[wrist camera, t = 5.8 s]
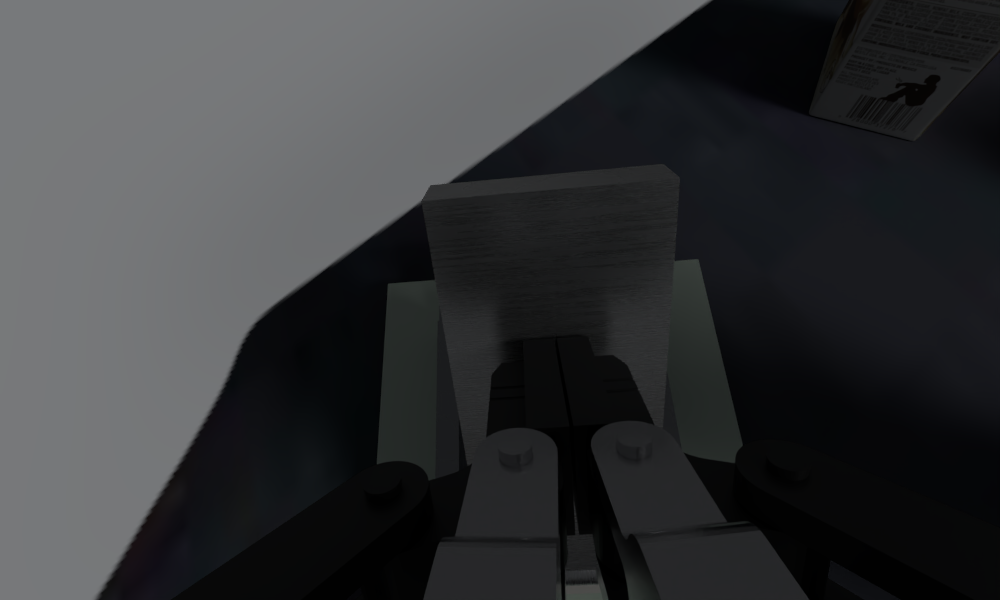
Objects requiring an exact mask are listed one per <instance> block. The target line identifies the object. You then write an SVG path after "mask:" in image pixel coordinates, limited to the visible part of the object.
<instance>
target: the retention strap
mask: <svg viewBox="0 0 1000 600" xmlns="http://www.w3.org/2000/svg"><path fill="white" fill-rule="evenodd" d="M679 184H680V178H679V177H678V176H677V175H676V174H674V173H673V172H672V171H671V170H670V169H668V168H667V167H666V166H665V165H664V164H659V165H648V166H637V167H626V168H615V169H604V170H594V171H583V172H572V173H561V174H550V175H539V176H528V177H517V178H506V179H495V180H484V181H473V182H463V183H452V184H441V185H431V186H430V188H429V189H428V191H427V192H426V194H425V196H424V198H423V199H422V207H423V213H424V219H425V224H426V230H427V236H428V242H429V247H430V253H431V259H432V265H433V270H434V276H435V282H436V288H437V293H438V299H439V305H440V311H441V316H442V322H443V328H444V334H445V339H446V345H447V351H448V357H449V362H450V368H451V374H452V380H453V385H454V391H455V397H456V403H457V408H458V414H459V420H460V426H461V431H462V437H463V443H464V449H465V454H466V460H467V466H469V465H470V464H471V463H472V462H473V457H474V453H475V450H476V448H477V446H478V445H479V444H480V443H481V442H482V441H483V440H484V439H485V438H486V432H487V420H488V409H489V401H490V399H489V398H490V390H491V389H490V386H491V375H492V374H493V372H494V371H495V370H496V369H497V368H498V367H499V365H500V364H501V363H509V362H522V361H524V360H523V341H526V340H540V339H553V338H554V342H555V348H556V338H565V337H579V336H588V338H589V341H590V344H591V347H592V350H593V353H594V355H595V356H604V355H614V356H615V357H617V358H618V359H620V360H621V361H622V362H624V363H625V364H627V365H628V368H629V370H630V372H631V374H632V376H633V380H634V381H635V383H636V385H637V387H638V391H639V392H640V394H641V396H642V398H643V400H644V403H645V405H646V407H647V409H648V411H649V414H650V416H651V418H652V420H653V422H654V425H655V426H658V427H660V428H662V429H663V418H664V403H665V389H666V374H667V359H668V345H669V330H670V316H671V301H672V286H673V272H674V257H675V243H676V228H677V213H678V199H679ZM556 354H557V348H556ZM574 517H575V535H571V536H567V544H568V560H567V564H566V566H565V573H566V586H577V585H599V583H598V579H597V575H596V565H595V546H594V541H593V535H592V534H586V535H579V531H578V524H577V518H576V512H575V505H574Z"/></svg>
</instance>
